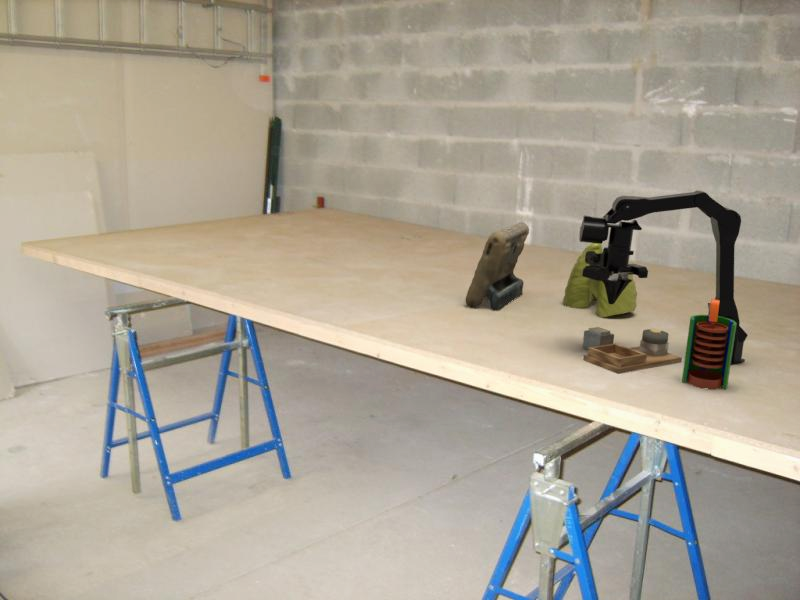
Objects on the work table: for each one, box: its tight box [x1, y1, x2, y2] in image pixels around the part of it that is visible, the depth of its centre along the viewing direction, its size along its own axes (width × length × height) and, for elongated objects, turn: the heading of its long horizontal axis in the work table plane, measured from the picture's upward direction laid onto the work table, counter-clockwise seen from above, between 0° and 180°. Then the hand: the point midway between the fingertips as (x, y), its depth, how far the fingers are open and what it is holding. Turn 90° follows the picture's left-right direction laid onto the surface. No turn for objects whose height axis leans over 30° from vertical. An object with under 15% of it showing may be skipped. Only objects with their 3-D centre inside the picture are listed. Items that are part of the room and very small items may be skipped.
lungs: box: [562, 243, 638, 318], centre depth 262 cm, size 25×16×24 cm, turn 31°
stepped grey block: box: [582, 326, 615, 351], centre depth 217 cm, size 6×5×6 cm
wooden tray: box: [582, 339, 683, 375], centre depth 209 cm, size 12×23×4 cm, turn 122°
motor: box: [681, 298, 737, 390], centre depth 192 cm, size 10×9×20 cm
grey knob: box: [641, 328, 670, 344], centre depth 213 cm, size 6×6×6 cm
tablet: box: [465, 221, 530, 311], centre depth 268 cm, size 33×14×25 cm, turn 161°
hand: (611, 304), depth 214 cm, fingers closed
